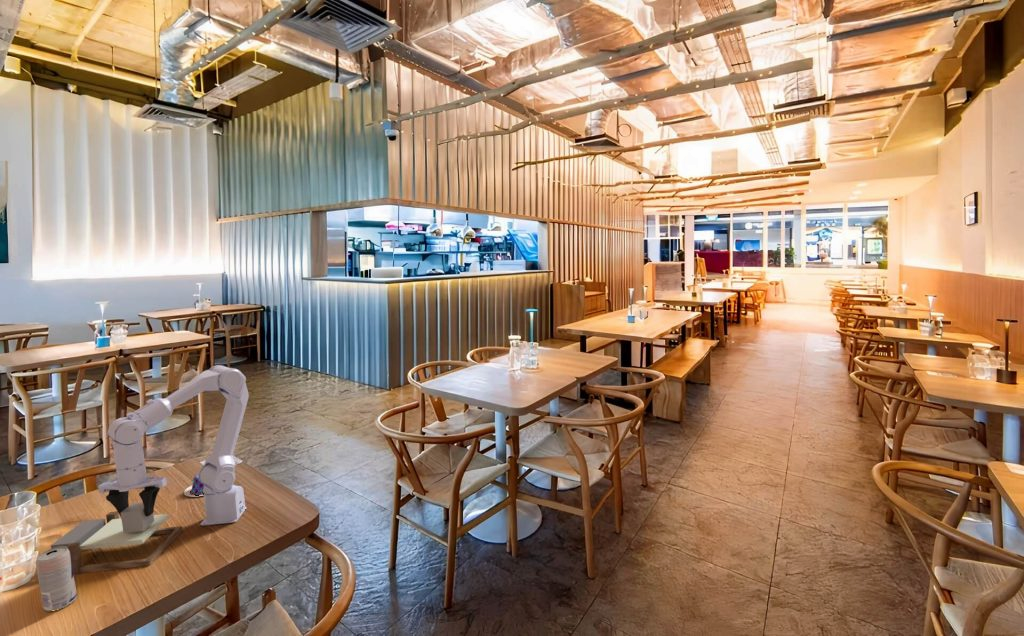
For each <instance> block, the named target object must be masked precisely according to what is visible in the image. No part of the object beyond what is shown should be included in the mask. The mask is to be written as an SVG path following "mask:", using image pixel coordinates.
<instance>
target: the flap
mask: <svg viewBox="0 0 1024 636" xmlns="http://www.w3.org/2000/svg"><path fill="white" fill-rule="evenodd" d="M153 515H154V522H153V523H152V524H150V525H149V526H148V527H147V528H146V529H145V530H144V531H138V532H128V533H123V526H122V519H121V518H119V519H112V520H111V521H110V522H108V523H107V522H106V519H105V518H97V519H95V518H94V519H86V520H82V521H81V522H80V523H78V524H77V525H76V526H75V527H73V528H72V529H71V530H69V531H68V532H67V533H65V534H63V535H62V536H60V538H58V539H57V540H56V541H55V542H53V543H52V544H50V549H52V548H56V547H61V546H65V547H66V546H67V545H68V544H70V543H78V542H79V543H80V550H81V551H83V550H93V549H102V548H111V547H120V546H121V547H122V546H131V545H141V544H144V543H145V542H146V541H147V540H148V539H149V538H150V537H151V536H153V535H152V534H153V533H154V532H155V531H156V530H157V529H158V528H161V526H162V525H163V524H164V523H165V522H166V521H167V520H168V519H169V518H170V514H169V513H163V514H162V513H161V514H153Z"/></svg>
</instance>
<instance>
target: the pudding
mask: <svg viewBox="0 0 1024 636" xmlns="http://www.w3.org/2000/svg"><path fill="white" fill-rule="evenodd" d="M203 489H204V484H203V483H201V482H200V481H199V479H198V473H197V474H195V475H194V477H193V479H192V484H191V485H190V486H188V487H187V488H186V489H184V491H183V495H185V496H186V497H193V498H195V497H197V496H195V495H194V494H200V495H199V496H198V497H201V496H203V497H204V495H203V494H201V493H203ZM191 490H192V491H191ZM190 491H191V494H192V493H194V494H193V495H190V493H189V492H190Z"/></svg>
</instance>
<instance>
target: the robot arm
mask: <svg viewBox="0 0 1024 636" xmlns="http://www.w3.org/2000/svg"><path fill="white" fill-rule="evenodd" d="M246 380H247V377H246V376H245V375H244V374H243V372H241V370H239V369H237V368H233V367H227V366H225V365H221V364H218V365H213V366H211V367H210V368H209V369H206V370H204V371H202V372H201V373H200V374H199V375H198V376H196V377H195V378H193V379H192V380H191V381H188V382H187V383H186V384H184V385H183V386H181V387H179V388H178V389H177V390H175V391H174V392H172V393H171V394H169V395H168V396H167V397H165V398H160V397H156V398H154V399H152V398H150V399H148V400H147V401H146V402H145V403H146V404H145V405H143V406H141V407H139V408H138V409H136V410H135V411H133V412H131V411H130V412H128V413H126V417H125V416H124V417H118V418H117V419H115V420H113V421H112V422H111V423H110V425H109V426H108V429H107V431H106V434H107V436H108V437H109V438H110V439H111V440H112V446H113V459H114V465H115V472H116V476H117V477H116V478H117V480H113V481H105V482H102V483H101V484H100V485H98V486H97V487H98V493H99V494H104V493H106V492H108V494H107V495H106V496H105V499H106V500H107V502H109V503H110V504H111V505H112V506H113V507H114V508H115V509H116V511H118V515H119V518H121V512H122V511H123V510H125V509H126V508H127V507H128V506H130V503H129V492H130V490H138V489H143V490H141V492H139V493H138V496H139V497H140V500H141V501H142V502H143V505H144V511H145V515H146V516H150V515H151V514H152V513H153V514H154V511H155V505H156V499H157V496H158V494H159V491H160V489H162V488H165V487H166V486H167V485H168V480H167V477H166V476H165V477H162V476H161V477H160V476H159V477H158V476H147V469H146V461H145V455H144V448H143V447H144V446H143V444H142V443H143V442H142V438H143V437H144V435H145V433H146V432H147V431H149V430H150V429H152V428H154V427H155V426H157V425H158V424H160V423H161V422H163V421H165V420H166V419H168V418H169V417H171V416H172V414H173V412H174V409H175V408H176V407H178V406H181V405H182V404H184V403H186V402H187V401H189V400H190V399H192V398H194V397H196V396H197V395H199V394H201V393H202V392H213V391H215V392H217V391H219V392H220V393H221V394H222V395H223V396H224V399H226V401H225V405H224V409H223V412H222V416H221V419H220V423H219V427H218V430H217V435H216V437H215V439H214V440H215V441H214V444H213V448H212V451H211V454H210V455H208V456H207V457H206V458H205V461H204V464H203V466H202V467H201V468H200V470H199V471H198V473H197V474H198V479H199V481H200V482H201V483H203V484H204V489H203V493H204V495H203V502H204V508H205V518H204V519H203V520H202V521H201V523H200V524H199V525H200V526H201V527H202V526H211V525H212V526H213V525H221V524H230V523H237V521H238V520H239V519H240V518H241V516H242V515H243V513H244V512H245V509H246V510H247V506H246V501H245V491H244V488H243V486H241V485H236V484H234V483H235V482H236V473H235V468H236V463H235V459H234V453H235V448H236V446H237V445H236V444H237V442H238V439H239V438H238V437H239V434H240V430H241V427H242V423H243V421H244V420H243V419H244V416H245V412H246V409H247V405H248V402H249V396H250V394H249V391H248V387H247V383H246V382H247V381H246ZM142 502H141V503H142Z"/></svg>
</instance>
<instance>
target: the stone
mask: <svg viewBox="0 0 1024 636" xmlns="http://www.w3.org/2000/svg"><path fill="white" fill-rule="evenodd" d="M154 515H155V514H154V512H153V513H152V514H151V515H150V516H146V515H145V511H144V505H143V502H133V503H131V504H129V506H128V507H127V508H126V509H125V510H123V511H122V512H121V517H120V519H122V526H123V533H128V532H138V531H144V530H145V529H146V528H147V527H148V526H149V525H150V524H152V523H153V522H154Z"/></svg>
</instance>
